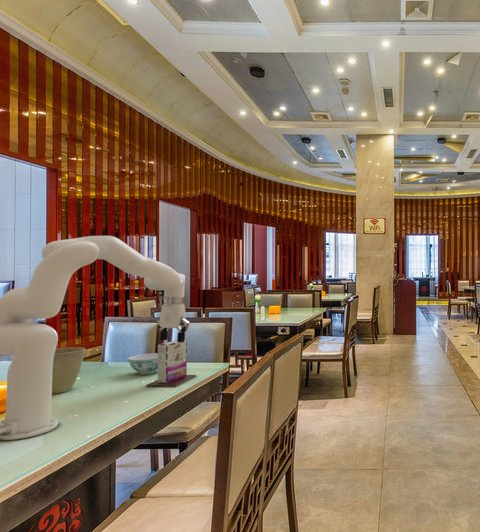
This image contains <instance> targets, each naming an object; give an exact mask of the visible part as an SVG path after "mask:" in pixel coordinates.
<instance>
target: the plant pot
mask: <svg viewBox="0 0 480 532" xmlns="http://www.w3.org/2000/svg"><path fill="white" fill-rule="evenodd" d="M85 352H86V348H85V347H61V348H56V350H55V354H54V359H53V370H52V395H53V394H62V393H66V392H70V391H72V389H73V387H74V385H75V384H76V382H77V381H76V380H77V378H78V376H79V374H80V371H81V368H82V364H83V361H84V356H85Z"/></svg>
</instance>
